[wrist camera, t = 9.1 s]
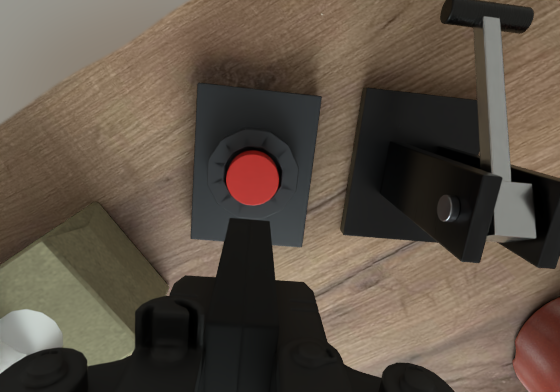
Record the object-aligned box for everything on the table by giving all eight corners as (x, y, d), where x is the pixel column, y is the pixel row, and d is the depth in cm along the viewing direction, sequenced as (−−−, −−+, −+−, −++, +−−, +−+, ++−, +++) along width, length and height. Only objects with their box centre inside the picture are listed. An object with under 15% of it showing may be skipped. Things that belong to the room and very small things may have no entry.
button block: (202, 83, 28) (193, 81, 24) (317, 96, 29) (326, 96, 25) (194, 229, 31) (186, 248, 28) (299, 237, 32) (304, 257, 28)
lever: (435, 13, 23) (457, -16, 21) (510, 23, 24) (539, -5, 21) (441, 237, 20) (467, 232, 18) (527, 244, 20) (563, 240, 18)
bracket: (362, 87, 29) (450, 83, 16) (483, 101, 30) (663, 107, 17) (340, 230, 32) (397, 326, 19) (449, 238, 33) (578, 337, 20)
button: (229, 147, 26) (227, 151, 24) (280, 152, 26) (281, 156, 25) (226, 196, 27) (224, 203, 25) (275, 200, 27) (276, 207, 26)
